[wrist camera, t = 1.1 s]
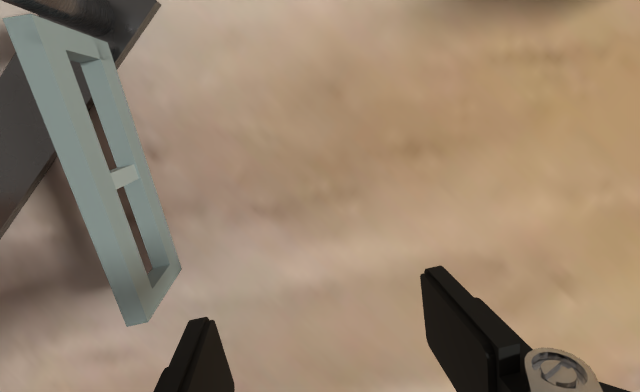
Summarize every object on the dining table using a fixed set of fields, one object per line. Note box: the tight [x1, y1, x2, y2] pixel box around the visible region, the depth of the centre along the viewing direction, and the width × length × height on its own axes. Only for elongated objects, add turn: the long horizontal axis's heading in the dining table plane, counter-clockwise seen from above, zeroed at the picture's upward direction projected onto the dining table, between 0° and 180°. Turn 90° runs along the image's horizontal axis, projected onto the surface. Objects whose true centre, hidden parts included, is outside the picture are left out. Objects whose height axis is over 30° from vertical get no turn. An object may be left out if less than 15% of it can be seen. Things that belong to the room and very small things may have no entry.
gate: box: [3, 14, 182, 327], centre depth 24 cm, size 20×2×8 cm, turn 10°
